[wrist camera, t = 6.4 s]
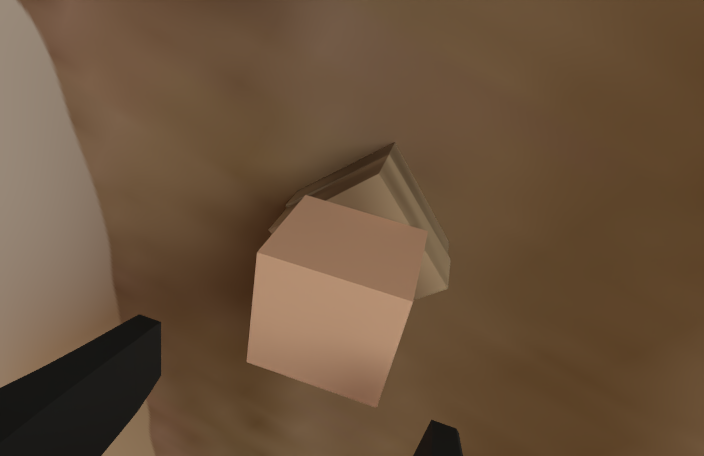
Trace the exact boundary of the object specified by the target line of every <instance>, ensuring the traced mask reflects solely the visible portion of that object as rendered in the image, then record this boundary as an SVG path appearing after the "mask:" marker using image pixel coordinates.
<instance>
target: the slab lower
mask: <svg viewBox="0 0 704 456" xmlns="http://www.w3.org/2000/svg"><path fill="white" fill-rule="evenodd" d="M387 155H390V157H391V158H392V160H393V162H394V163H395V165H396V167H397V169H398V170H399V172H400V174H401V175H402V177H403V179H404V181H405V182H406V184H407V186H408V187H409V189H410V191H411V193H412V194H413V196H414V198H415V199H416V201H417V203H418V205H419V206H420V208H421V210H422V211H423V213H424V215H425V217H426V218H427V220H428V222H429V223H430V225H431V227H432V229H433V230H434V232H435V234H436V235H437V237H438V239H439V241H440V242H441V244H442V246H443V248H444V249H445V251H446V253H447V254H448V249H449V241H448V239H447V238H446V236H445V234H444V232H443V230H442V228H441V226H440V225H439V223H438V221H437V219H436V217H435V215H434V214H433V212H432V210H431V208H430V206H429V204H428V202H427V201H426V199H425V197H424V195H423V193H422V191H421V189H420V188H419V186H418V184H417V182H416V180H415V178H414V176H413V175H412V173H411V171H410V169H409V167H408V165H407V164H406V162H405V160H404V158H403V156H402V154H401V152H400V151H399V149H398V147H397V145H396V143H393V144H391V145H389V146H387V147H385V148H383V149H381V150H379V151H377V152H375V153H373V154H371V155H369V156H367V157H365V158H363V159H361V160H359V161H357V162H355V163H353V164H351V165H349V166H347V167H345V168H343V169H341V170H339V171H337V172H335V173H333V174H331V175H329V176H327V177H325V178H323V179H321V180H319V181H317V182H315V183H313V184H311V185H309V186H307V187H305V188H303V189H301V190H299V191H297V192H296V193H295V194H294V196H293V197H292V198H291V199H290V200H289V201H288V203H287V204H286V207H289V206H291V205H293V204H295V203H297V202H299V201H301V200H302V198H303V197H304V196H305V195H308V196H310V195H312V194H314V193H316V192H318V191H320V190H322V189H324V188H325V187H327V186H329V185H331V184H333V183H335V182H337V181H339V180H341V179H343V178H345V177H347V176H348V175H350V174H352V173H354V172H356V171H358V170H360V169H362V168H364V167H366V166H368V165H370V164H371V163H373V162H375V161H377V160H379V159H381V158H383V157H385V156H387Z"/></svg>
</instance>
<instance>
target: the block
mask: <svg viewBox="0 0 704 456" xmlns="http://www.w3.org/2000/svg"><path fill="white" fill-rule="evenodd" d="M427 234H428V231H426V230H423V229H419V228H416V227H412V226H409V225H406V224H402V223H399V222H396V221H392V220H389V219H385V218H382V217H379V216H375V215H372V214H369V213H365V212H362V211H358V210H355V209H352V208H348V207H345V206H342V205H338V204H335V203H331V202H328V201H325V200H321V199H318V198H314V197H311V196H308V195H305V196H304V197H303V198H302V200H301V201H300V202H299V203H298V204H297V206H296V207H295V208H294V209H293V210H292V211H291V213H290V214H289V215H288V216H287V217H286V219H285V220H284V221H283V222H282V223H281V225H280V226H279V227H278V228H277V229H276V230H275V232H274V233H273V234H272V235H271V236H270V238H269V239H268V240H267V241H266V242H265V243H264V245H263V246H262V247H261V248H260V249H259V251H258V252H257V258H256V269H255V279H254V290H253V300H252V311H251V321H250V332H249V343H248V353H247V362H248V363H250V364H253V365H256V366H259V367H262V368H265V369H268V370H270V371H273V372H276V373H279V374H282V375H285V376H287V377H290V378H293V379H296V380H299V381H302V382H305V383H307V384H310V385H313V386H316V387H319V388H322V389H324V390H327V391H330V392H333V393H336V394H339V395H342V396H344V397H347V398H350V399H353V400H356V401H359V402H361V403H364V404H367V405H370V406H373V407H376V408H377V405H378V402H379V399H380V396H381V393H382V391H383V388H384V385H385V382H386V379H387V376H388V373H389V370H390V367H391V364H392V361H393V358H394V356H395V353H396V350H397V347H398V344H399V341H400V338H401V335H402V332H403V329H404V326H405V324H406V321H407V318H408V315H409V312H410V309H411V306H412V303H413V299H414V295H415V290H416V285H417V281H418V276H419V272H420V267H421V262H422V258H423V253H424V248H425V244H426V239H427Z"/></svg>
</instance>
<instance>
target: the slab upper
mask: <svg viewBox="0 0 704 456" xmlns="http://www.w3.org/2000/svg"><path fill="white" fill-rule="evenodd" d="M310 196H311V197H314V198H318V199H321V200H325V201H328V202H331V203H335V204H338V205H342V206H345V207H348V208H352V209H355V210H358V211H362V212H365V213H369V214H372V215H375V216H379V217H382V218H385V219H389V220H392V221H396V222H399V223H402V224H406V225H409V226H412V227H416V228H419V229H423V230H426V231H428V234H427V239H426V244H425V248H424V253H423V258H422V262H421V267H420V272H419V276H418V281H417V285H416V290H415V295H414V299H413V300H416V299H419V298H422V297H425V296H427V295H430V294H433V293H436V292H439V291H442V290H445V289H448V282H449V271H450V261H451V260H450V258H449V256H448V254H447V253H446V251H445V249H444V248H443V246H442V244H441V242H440V241H439V239H438V237H437V235H436V234H435V232H434V230H433V229H432V227H431V225H430V223H429V222H428V220H427V218H426V217H425V215H424V213H423V211H422V210H421V208H420V206H419V205H418V203H417V201H416V199H415V198H414V196H413V194H412V193H411V191H410V189H409V187H408V186H407V184H406V182H405V181H404V179H403V177H402V175H401V174H400V172H399V170H398V169H397V167H396V165H395V163H394V162H393V160H392V158H391V157H390V155H387V156H385V157H383V158H381V159H379V160H377V161H375V162H373V163H371V164H370V165H368V166H366V167H364V168H362V169H360V170H358V171H356V172H354V173H352V174H350V175H348V176H347V177H345V178H343V179H341V180H339V181H337V182H335V183H333V184H331V185H329V186H327V187H325V188H324V189H322V190H320V191H318V192H316V193H314V194H312V195H310ZM299 202H300V201H299ZM299 202H297V203H295V204H293V205H291V206H289V207H287V208H286V210H285V211H284V212H283V213H282V214H281V215H280V216H279V218H278V219H277V220H276V221H275V222H274V223H273V225H272V226H271V227H270V228H269V229H268V230H269V231H270V233H271V234H273V233H274V232H275V230H276V229H277V228H278V227H279V226H280V225H281V223H282V222H283V221H284V220H285V219H286V217H287V216H288V215H289V214H290V213H291V211H292V210H293V209H294V208H295V207H296V206H297V204H298V203H299Z"/></svg>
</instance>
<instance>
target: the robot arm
mask: <svg viewBox="0 0 704 456" xmlns="http://www.w3.org/2000/svg"><path fill="white" fill-rule="evenodd" d="M160 376H161V322H159V321H156V320H154V319H151V318H148V317H145V316H142V315H140V314H139V315H137V316H135V317H133V318H132V319H130V320H128V321H126V322H124V323H123V324H121V325H119V326H117V327H115V328H114V329H112V330H110V331H108V332H106V333H105V334H103V335H101V336H99V337H98V338H96V339H94V340H92V341H90V342H89V343H87V344H85V345H83V346H81V347H80V348H78V349H76V350H74V351H72V352H70V353H68V354H66V355H64V356H63V357H61V358H59V359H57V360H55V361H53V362H51V363H50V364H48V365H46V366H44V367H42V368H40V369H38V370H36V371H34V372H32V373H30V374H28V375H26V376H24V377H22V378H20V379H18V380H16V381H13V382H11V383H9V384H7V385H5V386H3V387H1V388H0V456H101V455H102V454H103V453H104V452H105V450H106V449H107V448H108V447H109V445H110V444H111V443H112V442H113V441H114V439H115V438H116V437H117V436H118V435H119V433H120V432H121V431H122V430H123V429H124V427H125V426H126V425H127V424H128V422H129V421H130V420H131V419H132V418H133V416H134V415H135V414H136V413H137V411H138V410H139V408H140V407H141V405H142V404H143V402H144V401H145V399H146V398H147V396H148V395H149V393H150V392H151V390H152V389H153V387H154V386H155V384H156V382H157V381H158V379H159V378H160ZM413 456H463V454H462V449H461V443H460V438H459V433H458V431H457V429H456V428H453V427H450V426H447V425H445V424H442V423H439V422H436V421H434V420H431V422H430V424H429V426H428V428H427V430H426V432H425V434H424V436H423V438H422V440H421V441H420V443H419V445H418V447H417V449H416V451H415V453H414V455H413Z"/></svg>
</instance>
